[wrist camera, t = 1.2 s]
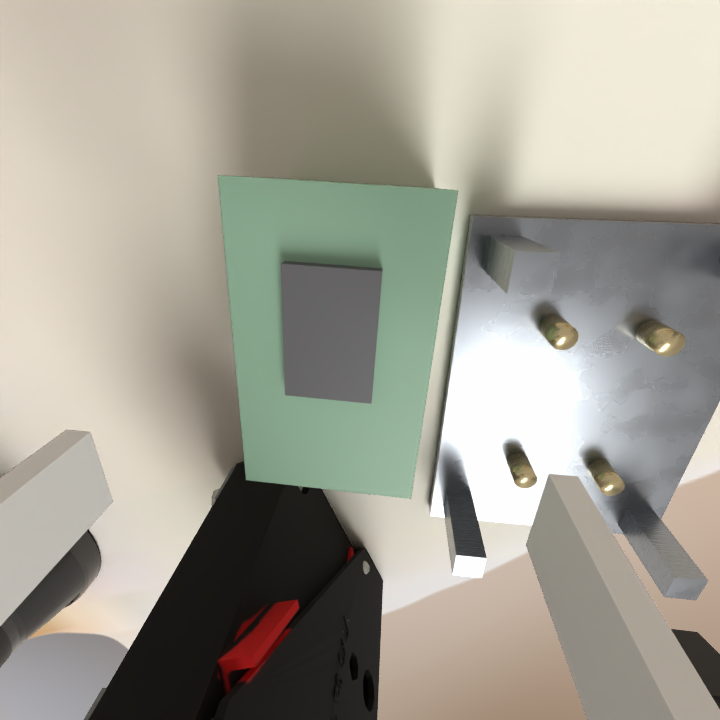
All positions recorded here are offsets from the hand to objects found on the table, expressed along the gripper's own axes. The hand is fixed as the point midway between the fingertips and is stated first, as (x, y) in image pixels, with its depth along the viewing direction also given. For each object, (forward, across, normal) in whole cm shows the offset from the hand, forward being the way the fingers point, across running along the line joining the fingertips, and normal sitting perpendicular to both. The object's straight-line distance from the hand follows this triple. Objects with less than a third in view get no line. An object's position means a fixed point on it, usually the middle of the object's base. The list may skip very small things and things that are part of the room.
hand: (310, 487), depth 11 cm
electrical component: (+17, -4, -22) cm, 28 cm away
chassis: (+17, +16, -5) cm, 24 cm away
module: (+17, -1, +1) cm, 17 cm away
